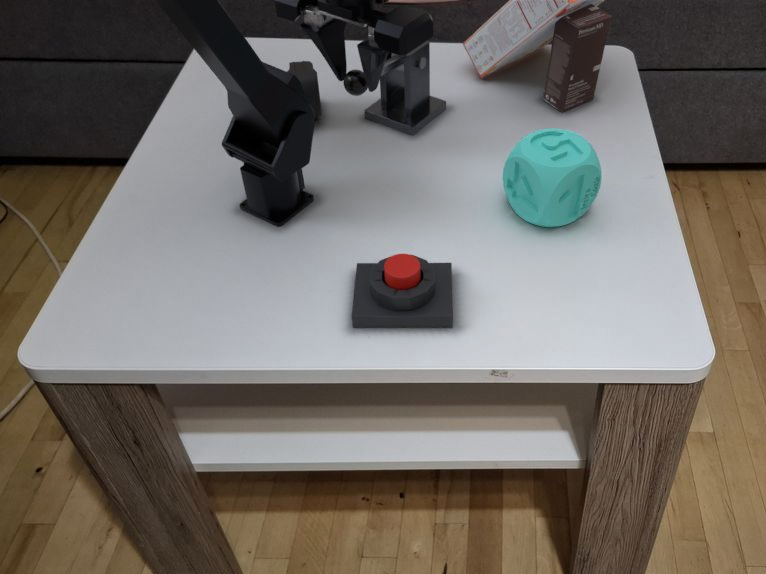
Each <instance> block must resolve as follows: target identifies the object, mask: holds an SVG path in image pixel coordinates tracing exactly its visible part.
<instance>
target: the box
mask: <svg viewBox="0 0 766 574" xmlns="http://www.w3.org/2000/svg"><path fill="white" fill-rule="evenodd" d="M612 18H613V16H612V15H611V14H609V13H608V12H606V11H605V10H603V9H601V8H600V7H598V6H597V7H596V6H594V5H593V4H590V5H588V6H586V7H584V8H581V9H579V10H577V11H575V12H573V13H570V14H568V15H566V16H564V17H562V18H560V19H559V20H558V21H557V22H555V28H554V34H553V40H552V41H551V47H550V51H549V52H550V53H549V60H548V65H547V71H546V77H545V82H544V90H543V95H542V100H544V102H545V103H547V104H548V105H550V106H551V107H553V108H555V109H556V110H558V111H559V112H560V113H562V112H565V111H567V110H570V109H572V108H575V107H577V106H579V105H582V104H584V103H588V102H590V101H593V100H594V97H595V93H596V88H597V84H598V78H599V74H600V71H601V66H602V60H603V57H604V51H605V49H606V48H605V47H606V43H607V39H608V34H609V30H610V26H611V22H612Z"/></svg>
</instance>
